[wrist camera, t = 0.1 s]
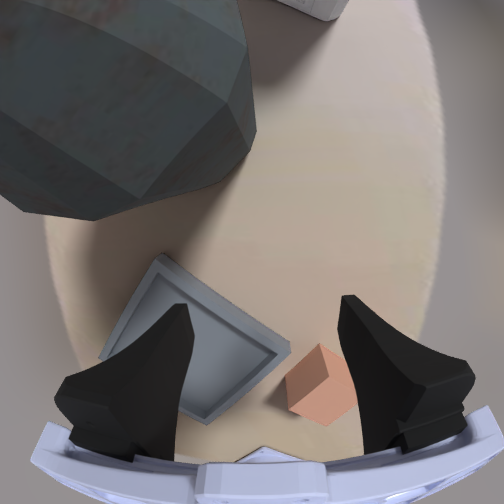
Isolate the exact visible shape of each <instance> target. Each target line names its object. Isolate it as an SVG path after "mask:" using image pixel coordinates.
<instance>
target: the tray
mask: <svg viewBox="0 0 504 504" xmlns="http://www.w3.org/2000/svg"><path fill="white" fill-rule="evenodd" d="M175 303H187V306H188V310H189V314H190V318H191V322H192V326H193V330H194V334H195V339H194V347H193V353H192V357H191V360H190V364H189V367H188V371H187V374H186V378H185V381H184V384H183V388H182V392H181V396H180V402H179V409H178V411H180V412H182V413H184V414H185V415H187V416H189V417H191V418H193V419H195V420H197V421H199V422H201V423H203V424H205V425H208V424H209V423H210V422H212V421H213V420H214V419H216V418H217V417H218V416H219V415H221V414H222V413H223V412H224V411H226V410H227V409H228V408H229V407H231V406H232V405H233V404H234V403H235V402H237V401H238V400H239V399H240V398H241V397H243V396H244V395H245V394H246V393H247V392H248V391H250V390H251V389H252V388H253V387H254V386H255V385H257V384H258V383H259V382H260V381H261V380H262V379H263V378H264V377H266V376H267V375H268V374H269V373H270V372H271V371H272V370H273V369H274V368H275V367H277V366H278V365H279V364H280V363H281V362H282V361H283V360H284V359H285V358H286V357H287V356H288V355H289V354H290V353H291V349H290V342H289V341H288V340H286V339H285V338H283V337H282V336H280V335H278V334H277V333H275V332H274V331H272V330H271V329H269V328H268V327H266V326H265V325H263V324H262V323H260V322H259V321H257V320H256V319H254V318H253V317H251V316H250V315H248V314H247V313H245V312H244V311H243V310H241V309H240V308H238V307H237V306H235V305H234V304H232V303H231V302H229V301H228V300H227V299H225V298H224V297H222V296H221V295H219V294H218V293H217V292H215V291H214V290H212V289H211V288H210V287H208V286H207V285H205V284H204V283H203V282H201V281H200V280H198V279H197V278H196V277H194V276H193V275H192V274H190V273H189V272H188V271H186V270H185V269H183V268H182V267H181V266H179V265H178V264H177V263H175V262H174V261H173V260H171V259H170V258H169V257H167V256H166V255H165V254H163V253H161V254H160V255H159V256H157V257H156V258H155V259H154V261H153V262H152V264H151V266H150V267H149V269H148V270H147V272H146V274H145V275H144V277H143V279H142V280H141V282H140V284H139V285H138V287H137V289H136V290H135V292H134V294H133V295H132V297H131V299H130V301H129V302H128V304H127V306H126V308H125V309H124V311H123V313H122V315H121V316H120V318H119V320H118V322H117V324H116V325H115V327H114V329H113V331H112V333H111V335H110V336H109V338H108V340H107V342H106V344H105V346H104V348H103V350H102V352H101V354H100V356H99V359H101V360H102V361H105V360H107V359H109V358H110V357H112V356H114V355H115V354H117V353H119V352H120V351H122V350H123V349H124V348H126V347H127V346H129V345H130V344H131V343H133V342H134V341H135V340H136V339H138V338H139V337H140V336H141V335H142V334H143V333H144V332H146V331H147V330H148V329H149V328H150V327H151V326H152V325H153V324H154V323H155V322H156V321H157V320H158V319H159V318H160V317H161V316H162V315H163V314H164V313H165V312H166V311H167V310H168V309H169V308H170V307H171V306H173V305H174V304H175Z"/></svg>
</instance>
